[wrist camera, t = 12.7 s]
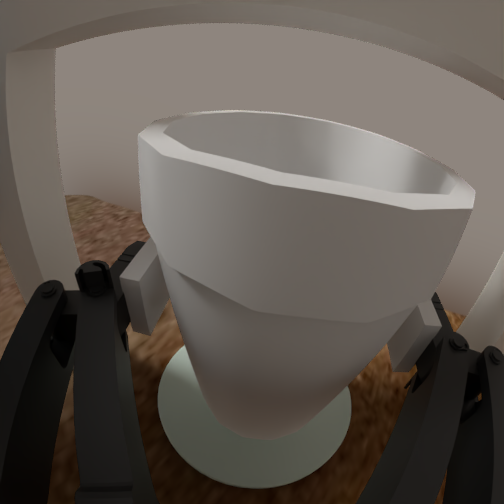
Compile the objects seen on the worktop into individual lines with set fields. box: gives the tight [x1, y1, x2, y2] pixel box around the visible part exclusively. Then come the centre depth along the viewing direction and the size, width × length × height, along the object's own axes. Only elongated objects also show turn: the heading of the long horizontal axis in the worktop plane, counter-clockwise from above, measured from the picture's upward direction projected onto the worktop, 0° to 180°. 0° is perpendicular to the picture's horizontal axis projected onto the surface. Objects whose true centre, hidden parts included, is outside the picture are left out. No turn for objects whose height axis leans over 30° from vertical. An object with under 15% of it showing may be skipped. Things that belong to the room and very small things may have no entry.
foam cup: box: [138, 110, 476, 440], centre depth 11 cm, size 10×9×13 cm
